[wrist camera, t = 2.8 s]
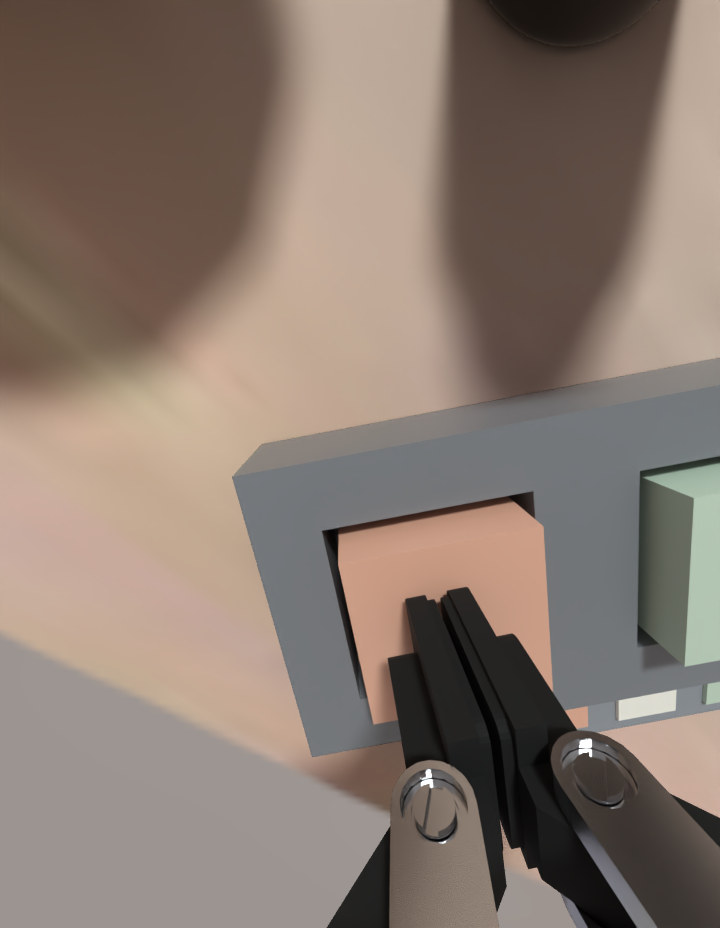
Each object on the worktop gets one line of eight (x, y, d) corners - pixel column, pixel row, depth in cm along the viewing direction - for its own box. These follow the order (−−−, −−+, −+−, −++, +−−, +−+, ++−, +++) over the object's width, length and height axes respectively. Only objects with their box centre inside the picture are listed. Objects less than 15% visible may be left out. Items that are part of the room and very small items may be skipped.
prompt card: (769, 619, 17) (786, 630, 17) (760, 690, 18) (776, 703, 18) (504, 669, 17) (510, 681, 17) (510, 737, 18) (517, 751, 18)
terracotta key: (497, 487, 13) (543, 526, 10) (509, 622, 14) (552, 691, 11) (338, 517, 13) (338, 564, 10) (366, 648, 14) (373, 724, 11)
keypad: (1022, 300, 14) (1279, 279, 10) (957, 546, 17) (1142, 603, 13) (262, 444, 14) (232, 476, 10) (318, 665, 17) (312, 757, 13)
